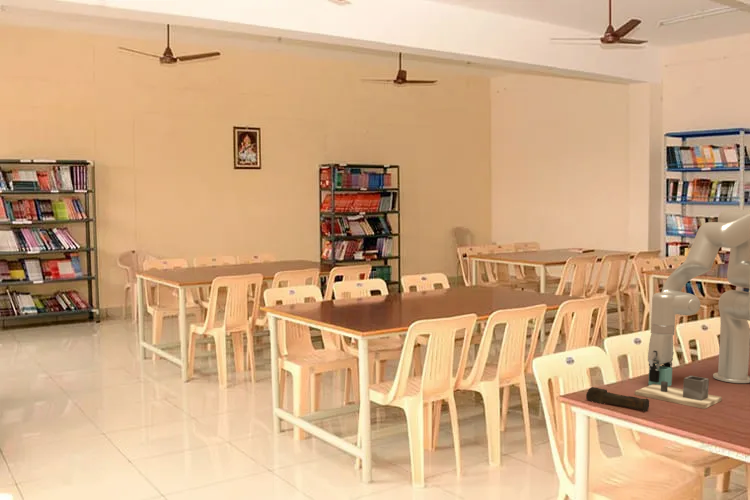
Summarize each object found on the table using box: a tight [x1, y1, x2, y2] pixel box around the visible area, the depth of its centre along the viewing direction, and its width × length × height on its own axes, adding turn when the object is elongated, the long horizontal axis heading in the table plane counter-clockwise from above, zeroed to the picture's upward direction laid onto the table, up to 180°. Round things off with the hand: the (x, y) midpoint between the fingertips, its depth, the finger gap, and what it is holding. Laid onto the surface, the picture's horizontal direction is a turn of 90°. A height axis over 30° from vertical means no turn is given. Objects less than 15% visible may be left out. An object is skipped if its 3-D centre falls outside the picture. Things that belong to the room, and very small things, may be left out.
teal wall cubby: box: [648, 364, 673, 387], centre depth 255 cm, size 6×6×6 cm
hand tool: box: [585, 386, 650, 413], centre depth 228 cm, size 19×4×5 cm, turn 50°
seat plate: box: [634, 375, 723, 410], centre depth 239 cm, size 14×22×7 cm, turn 46°
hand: (660, 379), depth 255 cm, fingers open, 9 cm apart
